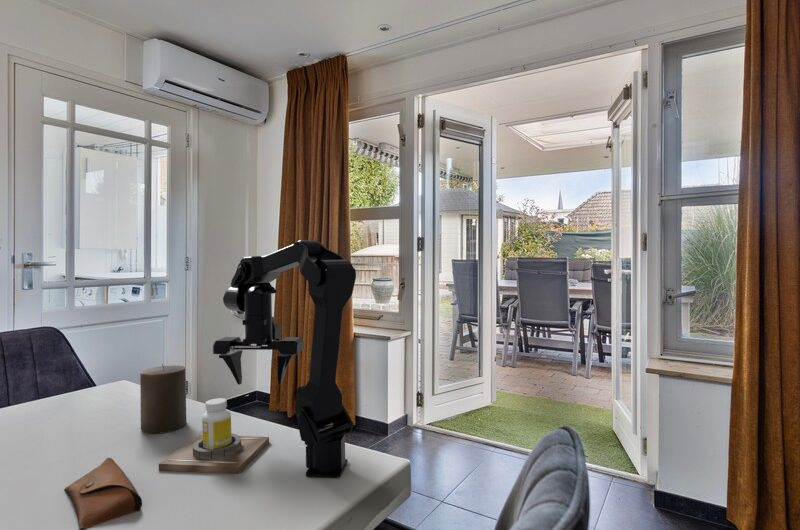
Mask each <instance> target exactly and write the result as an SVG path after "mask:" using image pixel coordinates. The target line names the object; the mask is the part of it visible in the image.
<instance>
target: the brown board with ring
mask: <svg viewBox="0 0 800 530" xmlns="http://www.w3.org/2000/svg"><path fill="white" fill-rule="evenodd" d="M231 434H232V445H229V446H226V447H224V448H219V449H213V450H209V449H203V434H198V435H197V436H195V437H194V438H193V439H191V440H190V441H188V442H186V444H184V445H183V446H181V447H180V448H179V449H177V450H176V451H174V452H173V453H172V454H170V455H168V456H167V457H166V458H164V459H163V460H161V461H160V462H159V463H158V470H159V471H170V472H171V471H174V472H175V471H176V472H177V471H178V472H196V473H197V472H198V473H199V472H200V473H219V474H220V473H222V474H240V473H241V472H242V471H244V469H245V468H246V467H247V466H248V465H249V464H250V463H251V462H252V461H253V460H254V459H255V458H256V456H258V455H259V454H260V453H261V452H262V450H264V449H265V448H266V447H267V446H268V444H270V436H258V435H256V436H251V435H238V434H236V433H231Z"/></svg>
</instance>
